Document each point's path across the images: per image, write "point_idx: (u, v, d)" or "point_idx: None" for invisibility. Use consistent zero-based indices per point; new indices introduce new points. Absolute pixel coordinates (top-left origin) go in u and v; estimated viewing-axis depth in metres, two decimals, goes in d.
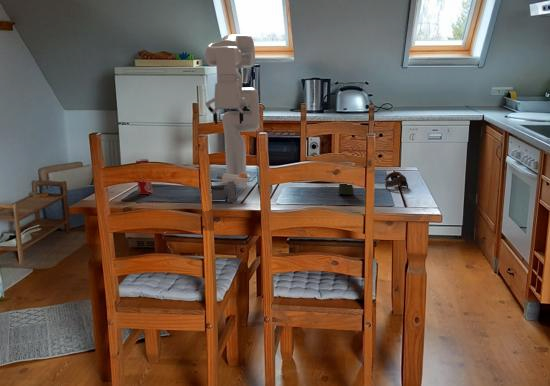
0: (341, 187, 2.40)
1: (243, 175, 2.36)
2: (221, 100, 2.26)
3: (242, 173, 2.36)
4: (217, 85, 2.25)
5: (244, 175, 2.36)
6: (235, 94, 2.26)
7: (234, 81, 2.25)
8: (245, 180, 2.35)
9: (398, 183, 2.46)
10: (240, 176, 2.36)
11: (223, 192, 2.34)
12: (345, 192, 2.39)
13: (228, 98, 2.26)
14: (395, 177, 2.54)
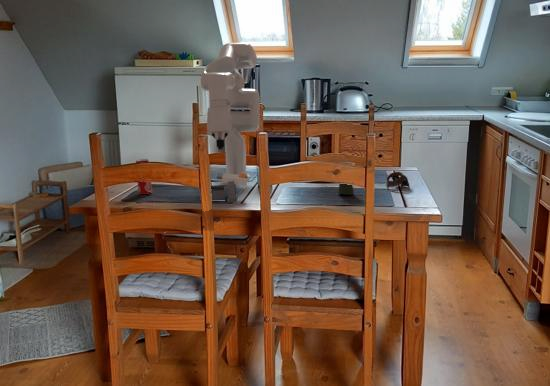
0: (341, 187, 2.40)
1: (243, 175, 2.36)
2: (213, 124, 2.37)
3: (242, 173, 2.36)
4: (209, 110, 2.36)
5: (244, 175, 2.36)
6: (226, 118, 2.37)
7: (225, 106, 2.36)
8: (245, 180, 2.35)
9: (399, 183, 2.46)
10: (240, 176, 2.36)
11: (223, 192, 2.34)
12: (345, 192, 2.39)
13: (220, 122, 2.37)
14: (396, 177, 2.54)
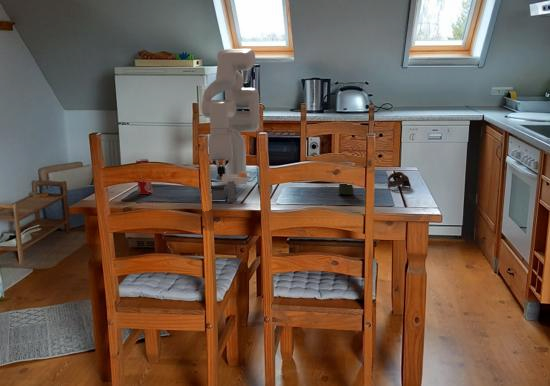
0: (341, 187, 2.40)
1: (242, 174, 2.36)
2: (214, 151, 2.40)
3: (241, 172, 2.36)
4: (210, 138, 2.39)
5: (243, 174, 2.36)
6: (227, 145, 2.39)
7: (226, 134, 2.39)
8: (245, 179, 2.35)
9: (401, 183, 2.46)
10: (239, 175, 2.36)
11: (223, 192, 2.34)
12: (345, 192, 2.39)
13: (221, 150, 2.40)
14: (397, 177, 2.54)
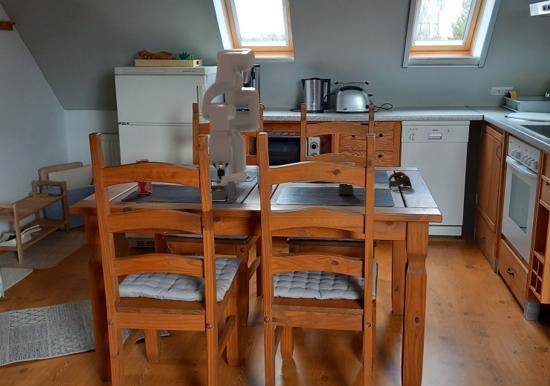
0: (341, 187, 2.40)
1: None
2: (214, 154, 2.40)
3: None
4: (210, 140, 2.39)
5: None
6: (227, 148, 2.40)
7: (226, 137, 2.39)
8: (243, 176, 2.34)
9: (402, 183, 2.46)
10: None
11: (223, 192, 2.34)
12: (345, 192, 2.39)
13: (220, 152, 2.40)
14: (398, 177, 2.53)
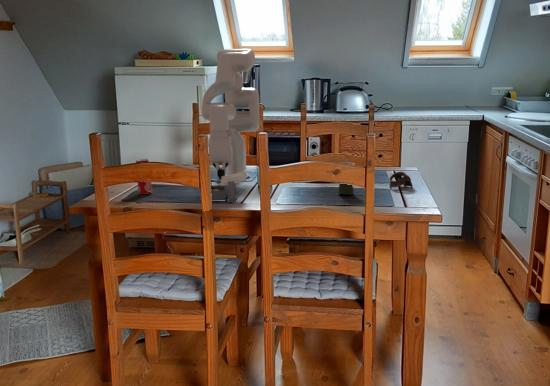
0: (341, 187, 2.40)
1: None
2: (214, 154, 2.40)
3: None
4: (210, 140, 2.39)
5: None
6: (227, 148, 2.40)
7: (226, 137, 2.39)
8: (243, 176, 2.34)
9: (403, 183, 2.45)
10: None
11: (223, 192, 2.34)
12: (345, 192, 2.39)
13: (220, 152, 2.40)
14: (399, 177, 2.53)
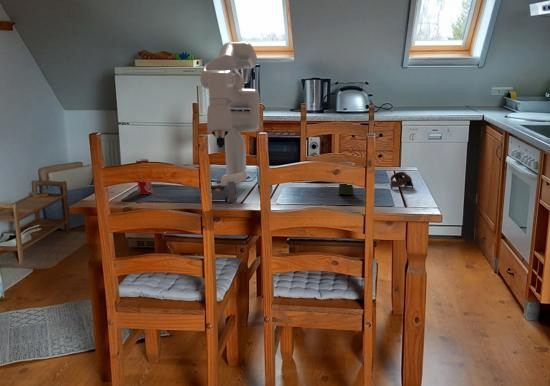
0: (341, 187, 2.40)
1: None
2: (213, 122, 2.37)
3: None
4: (209, 108, 2.36)
5: None
6: (227, 116, 2.37)
7: (225, 104, 2.36)
8: (243, 176, 2.34)
9: (404, 183, 2.45)
10: None
11: (223, 192, 2.34)
12: (345, 192, 2.39)
13: (220, 120, 2.37)
14: (400, 177, 2.53)
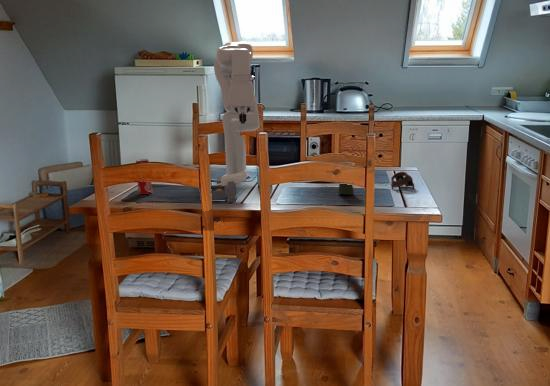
0: (341, 187, 2.40)
1: None
2: (236, 99, 2.43)
3: None
4: (232, 85, 2.42)
5: None
6: (249, 93, 2.43)
7: (248, 81, 2.42)
8: (243, 176, 2.34)
9: (405, 183, 2.45)
10: None
11: (223, 192, 2.34)
12: (345, 192, 2.39)
13: (243, 97, 2.43)
14: (401, 177, 2.53)
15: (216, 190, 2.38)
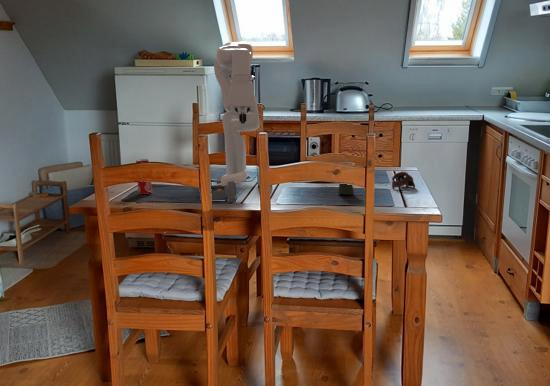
0: (341, 187, 2.40)
1: None
2: (236, 98, 2.43)
3: None
4: (232, 85, 2.42)
5: None
6: (249, 92, 2.43)
7: (248, 81, 2.42)
8: (243, 176, 2.34)
9: (405, 183, 2.45)
10: None
11: (223, 192, 2.34)
12: (345, 192, 2.39)
13: (243, 97, 2.43)
14: (401, 177, 2.53)
15: (217, 190, 2.38)
